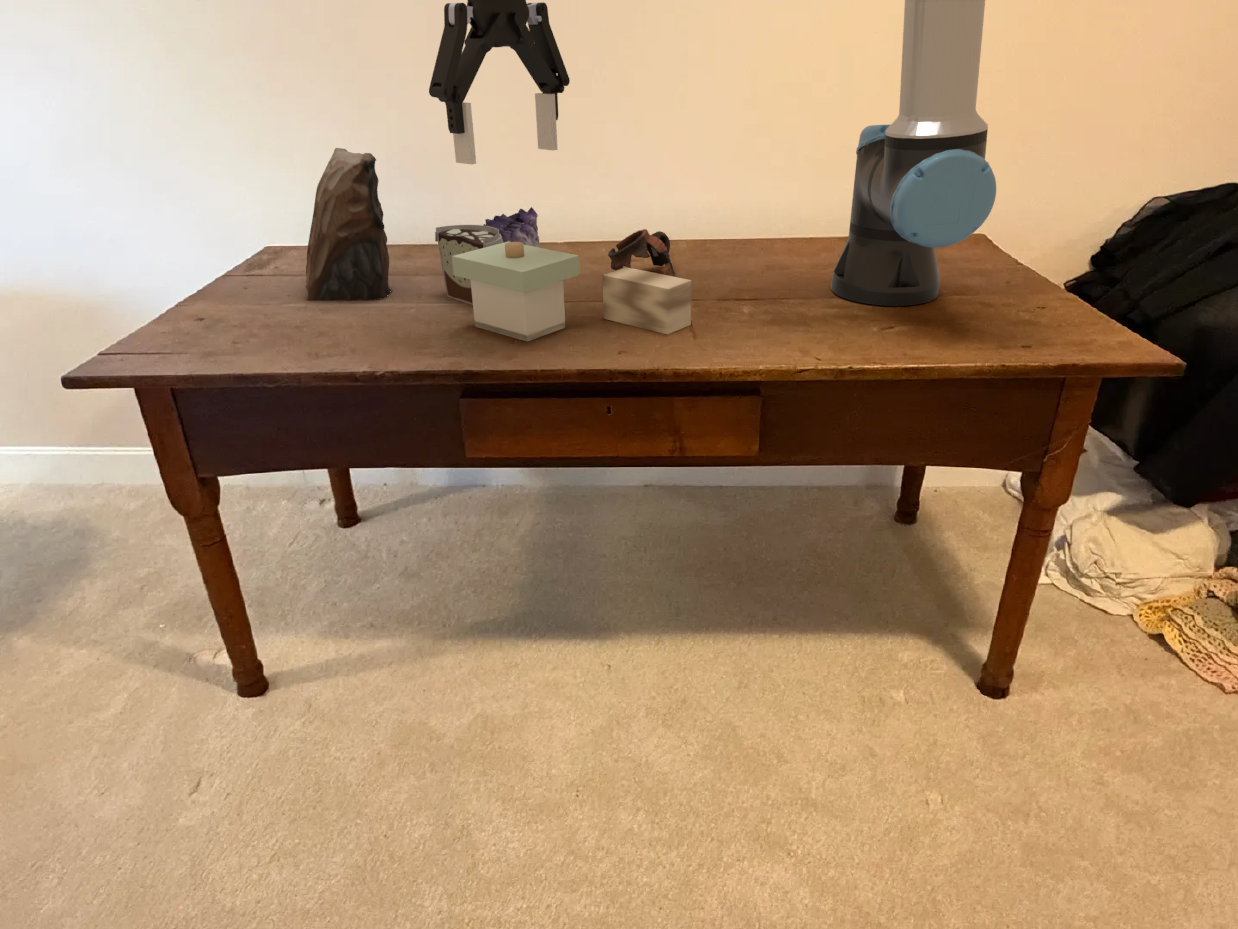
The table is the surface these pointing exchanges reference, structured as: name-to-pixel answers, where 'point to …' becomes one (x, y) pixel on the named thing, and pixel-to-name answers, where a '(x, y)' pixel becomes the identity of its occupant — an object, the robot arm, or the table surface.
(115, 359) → the table surface
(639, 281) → the marbled stone block
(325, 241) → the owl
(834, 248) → the table surface
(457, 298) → the food container
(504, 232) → the geode
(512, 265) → the lid
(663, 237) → the pottery mug
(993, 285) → the table surface
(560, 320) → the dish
